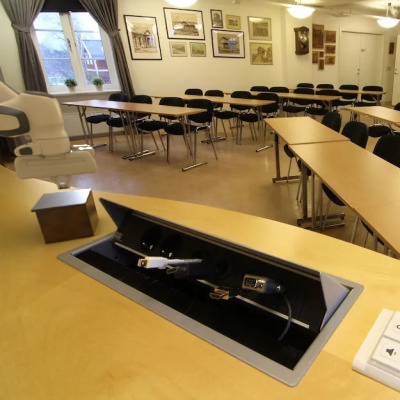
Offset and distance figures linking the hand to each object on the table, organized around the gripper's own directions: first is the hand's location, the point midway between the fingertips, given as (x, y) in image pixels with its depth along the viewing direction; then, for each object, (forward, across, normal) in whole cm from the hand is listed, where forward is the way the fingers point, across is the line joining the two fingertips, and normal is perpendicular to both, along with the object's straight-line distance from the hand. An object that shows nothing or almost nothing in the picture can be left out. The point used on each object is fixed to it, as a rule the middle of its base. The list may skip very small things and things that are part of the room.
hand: (64, 188), depth 104 cm
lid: (+4, +1, +1) cm, 4 cm away
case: (+15, 0, +1) cm, 15 cm away
